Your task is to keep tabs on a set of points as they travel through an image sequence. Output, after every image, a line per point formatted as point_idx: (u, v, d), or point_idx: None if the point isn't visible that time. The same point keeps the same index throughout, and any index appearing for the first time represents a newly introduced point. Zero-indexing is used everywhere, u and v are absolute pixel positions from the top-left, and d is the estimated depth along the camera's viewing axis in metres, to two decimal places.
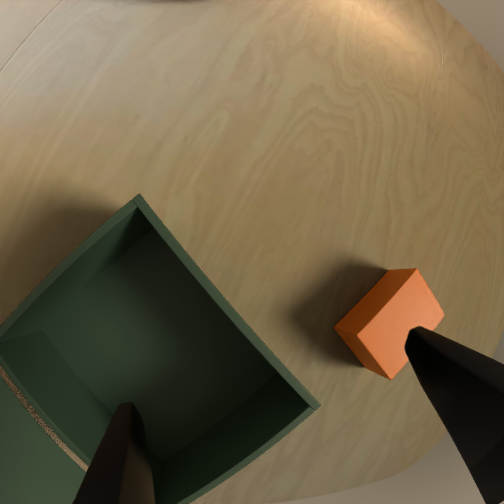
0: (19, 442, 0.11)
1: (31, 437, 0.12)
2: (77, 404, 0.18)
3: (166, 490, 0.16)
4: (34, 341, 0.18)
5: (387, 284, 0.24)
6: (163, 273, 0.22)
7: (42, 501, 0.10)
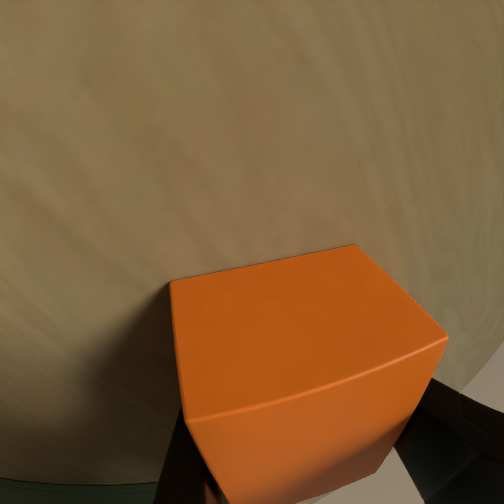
0: None
1: None
2: None
3: None
4: None
5: None
6: None
7: None
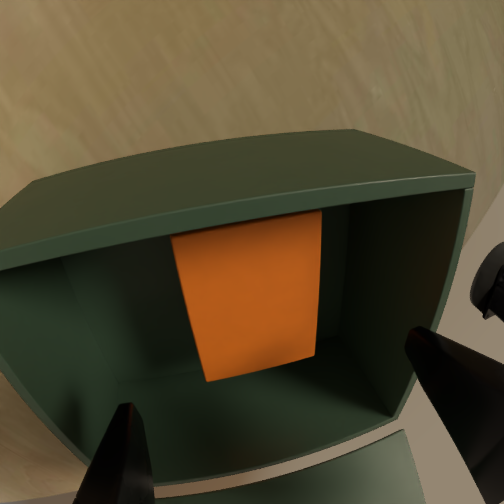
0: None
1: None
2: (221, 407, 0.16)
3: (375, 380, 0.15)
4: None
5: None
6: None
7: None
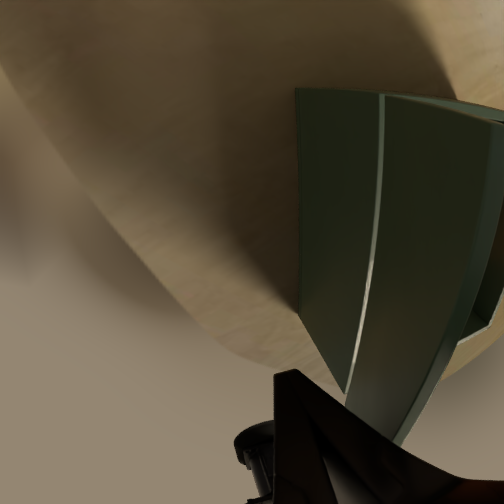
0: None
1: None
2: None
3: None
4: None
5: None
6: None
7: None
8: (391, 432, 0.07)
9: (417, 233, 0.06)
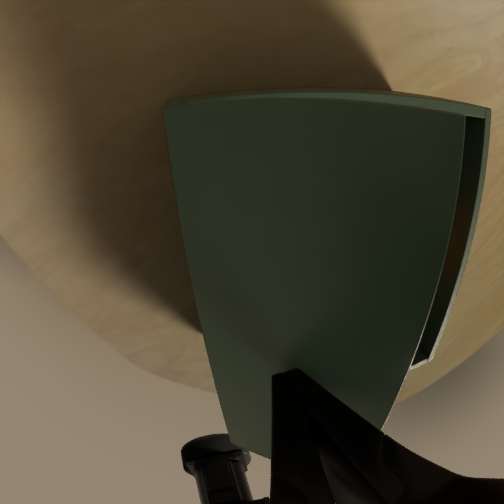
0: None
1: None
2: None
3: None
4: None
5: None
6: None
7: None
8: (388, 398, 0.08)
9: (329, 239, 0.06)
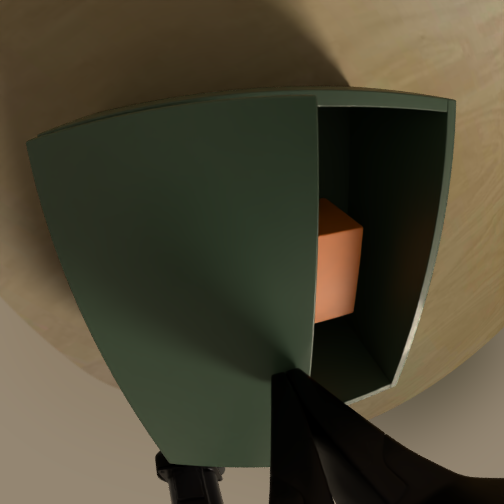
0: None
1: None
2: None
3: None
4: None
5: None
6: (324, 151, 0.16)
7: None
8: None
9: (203, 237, 0.07)
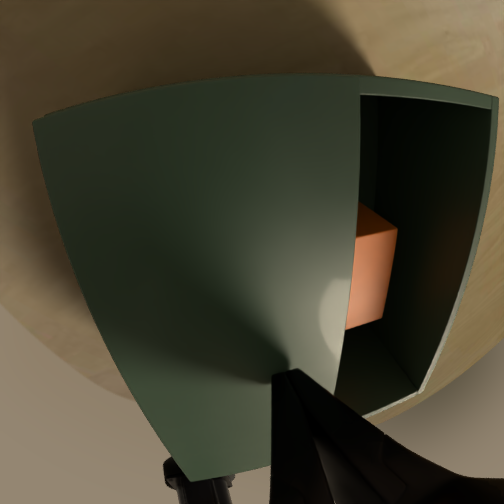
0: None
1: None
2: None
3: None
4: None
5: None
6: None
7: None
8: (336, 346, 0.09)
9: (255, 216, 0.06)
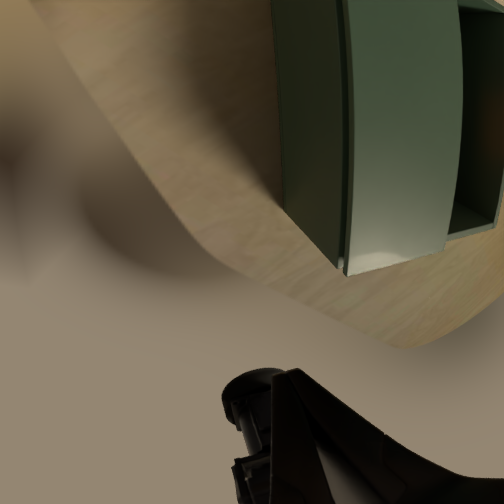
0: None
1: None
2: None
3: None
4: None
5: None
6: None
7: None
8: (459, 107, 0.11)
9: (424, 6, 0.09)
